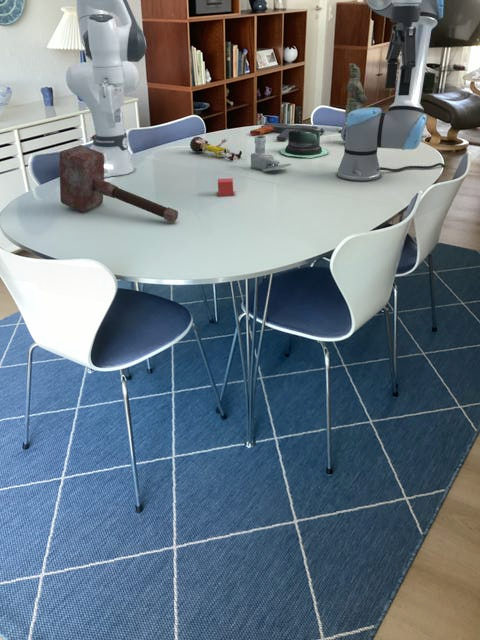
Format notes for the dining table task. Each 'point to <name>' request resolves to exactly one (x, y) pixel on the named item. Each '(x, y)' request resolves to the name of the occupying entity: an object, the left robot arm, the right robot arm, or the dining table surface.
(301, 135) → the dark green rounded hat
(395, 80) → the right robot arm
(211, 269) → the dining table surface
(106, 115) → the left robot arm
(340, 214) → the dining table surface
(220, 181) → the block
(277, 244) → the dining table surface
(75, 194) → the sledgehammer
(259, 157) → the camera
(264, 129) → the submachine gun
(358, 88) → the statue
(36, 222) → the dining table surface
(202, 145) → the figurine
